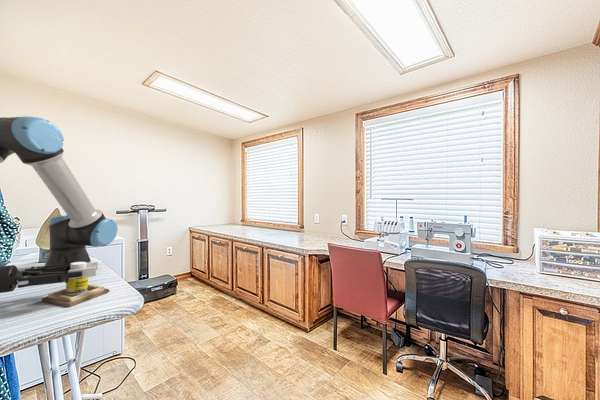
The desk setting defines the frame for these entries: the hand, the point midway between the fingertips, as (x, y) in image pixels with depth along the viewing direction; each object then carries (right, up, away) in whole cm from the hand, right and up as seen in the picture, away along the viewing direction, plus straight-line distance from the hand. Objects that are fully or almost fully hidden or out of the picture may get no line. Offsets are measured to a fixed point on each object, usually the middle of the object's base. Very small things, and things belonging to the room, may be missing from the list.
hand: (96, 268), depth 88 cm
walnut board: (-4, -8, -3) cm, 10 cm away
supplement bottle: (-4, -8, -3) cm, 9 cm away
